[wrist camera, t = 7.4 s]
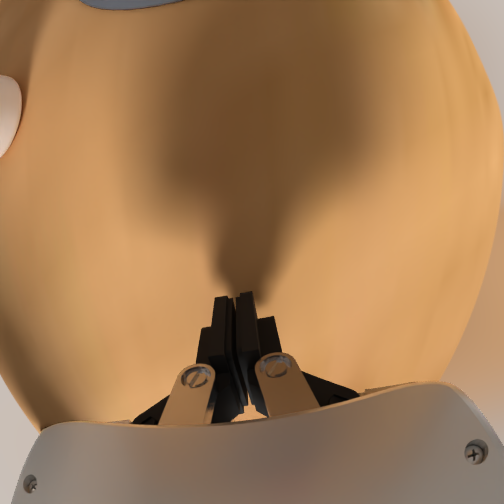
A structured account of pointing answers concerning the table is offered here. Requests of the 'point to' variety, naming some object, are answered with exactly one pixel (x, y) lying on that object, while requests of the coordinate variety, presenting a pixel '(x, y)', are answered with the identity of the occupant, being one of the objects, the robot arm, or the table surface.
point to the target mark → (126, 4)
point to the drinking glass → (9, 111)
